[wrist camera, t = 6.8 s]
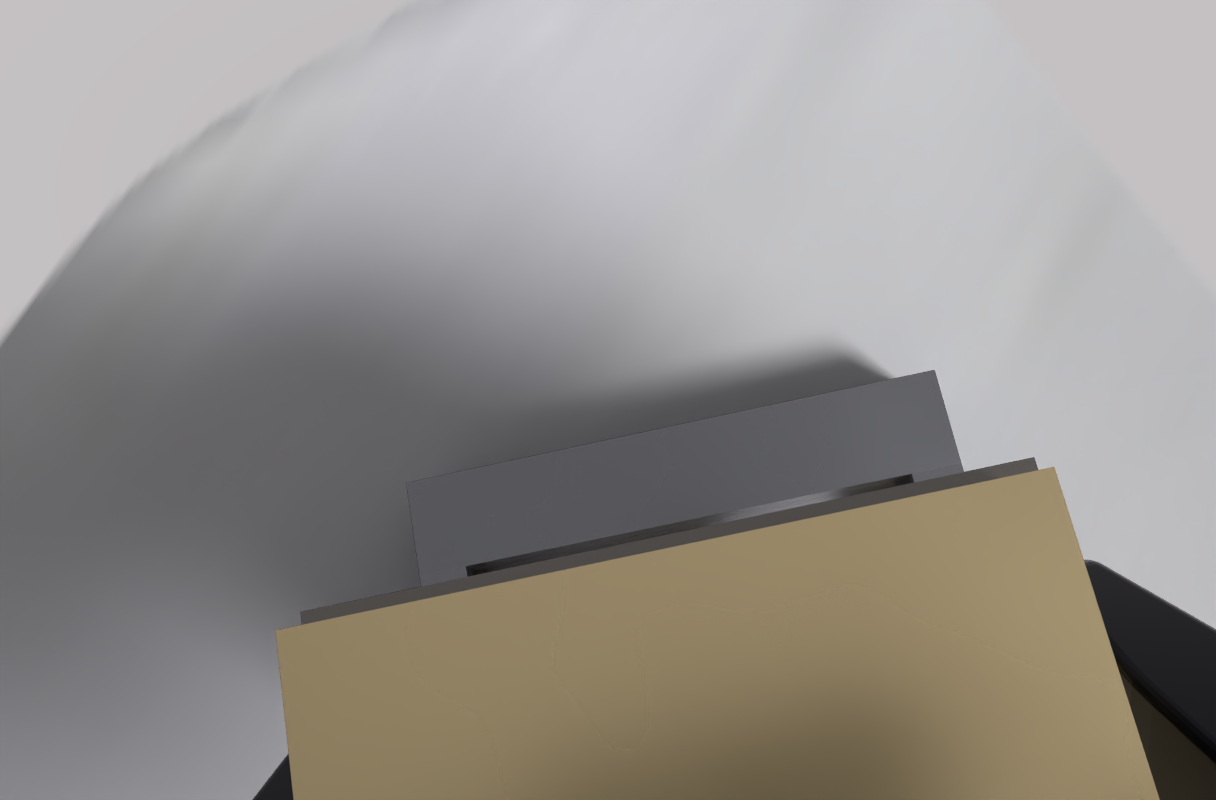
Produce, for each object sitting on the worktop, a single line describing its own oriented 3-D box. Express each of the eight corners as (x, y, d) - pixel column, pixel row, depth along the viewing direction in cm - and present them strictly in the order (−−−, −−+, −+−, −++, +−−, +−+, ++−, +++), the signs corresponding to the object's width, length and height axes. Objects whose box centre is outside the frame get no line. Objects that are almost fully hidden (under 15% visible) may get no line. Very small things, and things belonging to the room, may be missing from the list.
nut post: (904, 863, 15) (1423, 1506, 4) (629, 914, 16) (349, 1655, 4) (834, 584, 17) (1075, 430, 5) (578, 636, 17) (244, 605, 5)
